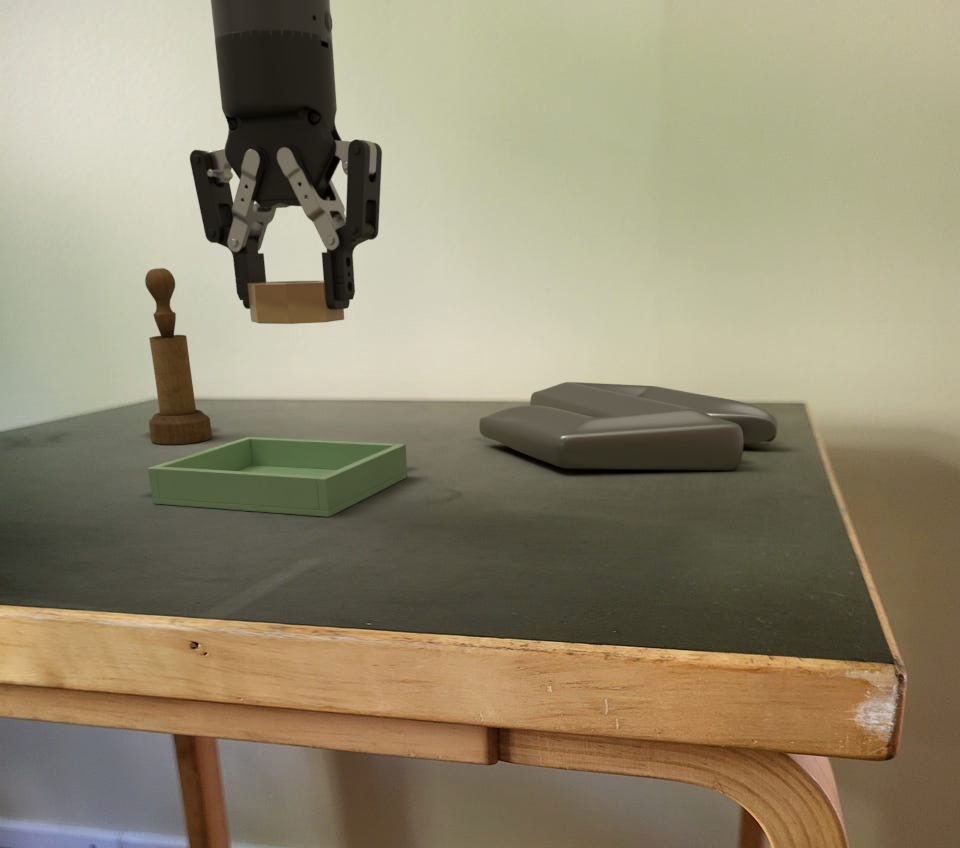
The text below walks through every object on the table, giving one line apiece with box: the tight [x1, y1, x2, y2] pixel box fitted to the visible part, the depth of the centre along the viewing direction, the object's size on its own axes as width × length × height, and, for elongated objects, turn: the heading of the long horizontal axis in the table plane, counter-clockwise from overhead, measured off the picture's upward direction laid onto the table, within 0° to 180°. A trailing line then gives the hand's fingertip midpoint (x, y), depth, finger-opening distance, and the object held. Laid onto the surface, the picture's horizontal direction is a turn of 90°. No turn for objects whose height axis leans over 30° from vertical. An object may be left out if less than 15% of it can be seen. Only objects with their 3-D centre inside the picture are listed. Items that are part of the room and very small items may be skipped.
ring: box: [248, 280, 345, 325], centre depth 69 cm, size 6×6×3 cm
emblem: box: [478, 381, 779, 472], centre depth 97 cm, size 28×5×28 cm
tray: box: [147, 436, 408, 518], centre depth 83 cm, size 17×15×3 cm
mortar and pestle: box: [144, 267, 213, 446], centre depth 106 cm, size 7×6×18 cm
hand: (296, 307), depth 69 cm, fingers closed on ring, 6 cm apart
